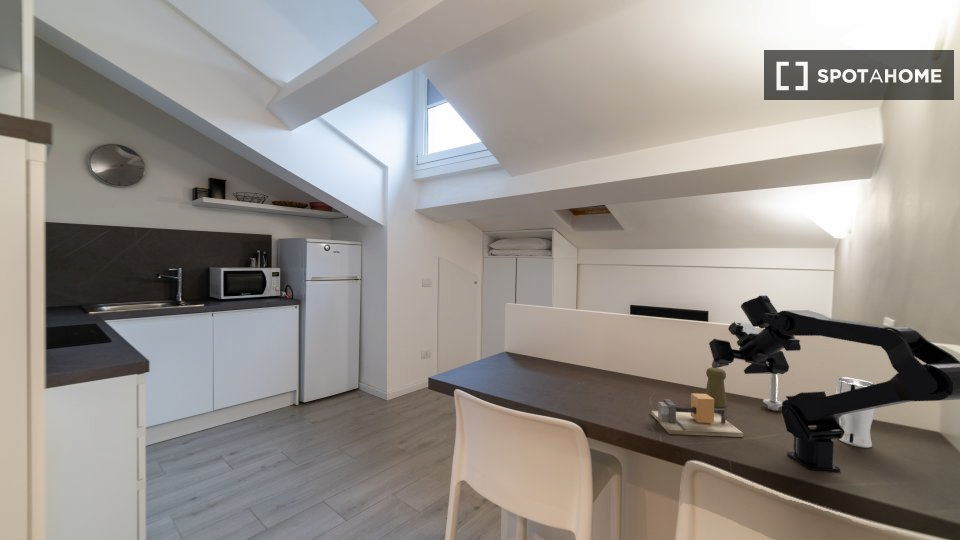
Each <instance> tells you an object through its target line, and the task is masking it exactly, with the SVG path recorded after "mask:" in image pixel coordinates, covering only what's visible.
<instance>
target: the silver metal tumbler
mask: <svg viewBox="0 0 960 540" xmlns="http://www.w3.org/2000/svg"><path fill="white" fill-rule="evenodd" d="M871 385H875V383H873V382H872V381H869V380H868V381H867V380H863V379H858V378H852V377H838V378H837V383H836V389H835V390H836V391H835V394H838V393H842V392H846V391H850V390H854V389H858V388H862V387H867V386H871ZM876 409H877V408H875V409H870V410H865V411H859V412H854V413H849V414H844V415H842V416H840V417H839V418H838V420H839V422H838V423H839V424H840V426H841V427H842V428H843V430H844V431H845V433H844V435H843V437H842V438H841V439H838V440H839V441H840V442H842V443H845V444H847V445H850V446H854V447H859V448H863V449H864V448H865V449H868V448H871V447H872V446H873V443H872V438H871V427H872V424H873V420H874V416H875V414H876Z"/></svg>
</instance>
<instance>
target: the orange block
mask: <svg viewBox="0 0 960 540" xmlns="http://www.w3.org/2000/svg"><path fill="white" fill-rule="evenodd" d="M690 408H696V413H693V412H691V416H692V417H693V418H694V419H695V420H696V421H697V422H706V423H714V409H715V406H714V399H713V398H712V397H710V396H709V395H707V394H705V393H694V392H693V393H692V392H691V393H690Z"/></svg>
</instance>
